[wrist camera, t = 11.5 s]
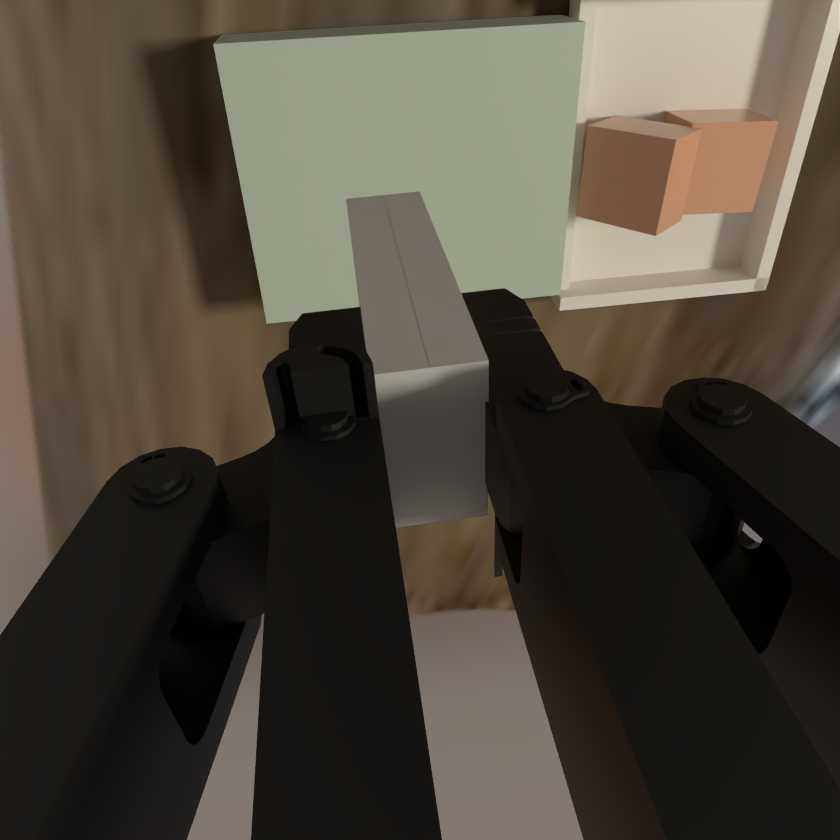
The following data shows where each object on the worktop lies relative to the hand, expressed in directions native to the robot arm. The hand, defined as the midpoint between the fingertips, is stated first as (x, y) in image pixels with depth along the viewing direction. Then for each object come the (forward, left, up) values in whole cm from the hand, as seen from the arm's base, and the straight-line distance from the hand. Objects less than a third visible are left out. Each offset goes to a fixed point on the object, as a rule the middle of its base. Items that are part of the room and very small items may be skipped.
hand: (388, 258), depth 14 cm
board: (+4, +3, -23) cm, 23 cm away
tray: (+4, +17, -23) cm, 29 cm away
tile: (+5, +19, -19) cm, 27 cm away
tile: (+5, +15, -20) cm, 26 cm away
